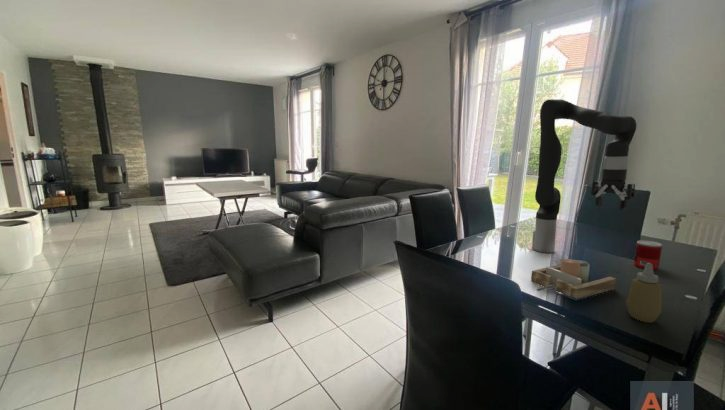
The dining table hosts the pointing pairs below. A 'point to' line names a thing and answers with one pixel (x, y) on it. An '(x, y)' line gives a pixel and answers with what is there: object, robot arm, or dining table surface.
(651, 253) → the canned food
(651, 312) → the squeeze bottle
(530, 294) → the dining table surface
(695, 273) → the dining table surface
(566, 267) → the terracotta jar
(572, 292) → the lane
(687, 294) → the dining table surface
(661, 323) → the dining table surface
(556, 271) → the pusher plate
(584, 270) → the sage jar
